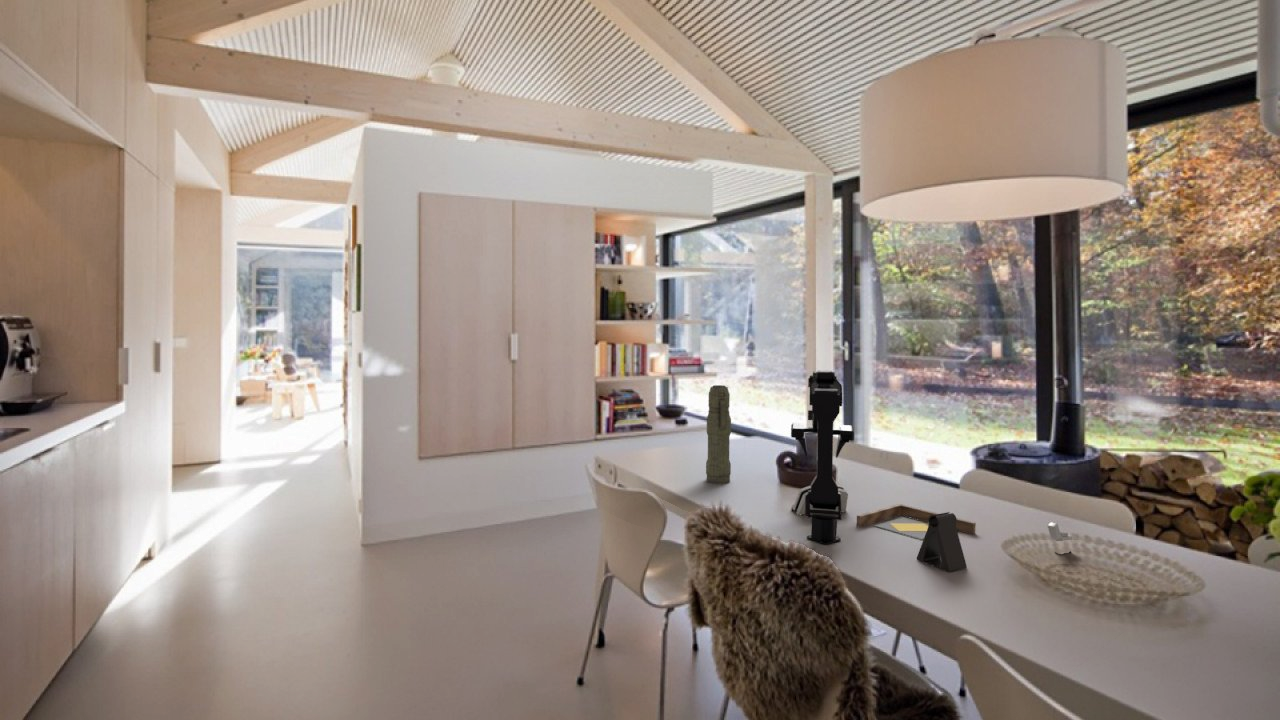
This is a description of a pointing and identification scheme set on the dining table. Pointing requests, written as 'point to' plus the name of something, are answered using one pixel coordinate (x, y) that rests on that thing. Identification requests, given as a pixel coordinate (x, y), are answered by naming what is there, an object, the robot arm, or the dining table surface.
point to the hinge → (800, 505)
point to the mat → (906, 527)
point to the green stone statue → (718, 435)
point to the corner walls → (909, 512)
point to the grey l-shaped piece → (1058, 533)
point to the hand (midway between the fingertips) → (821, 456)
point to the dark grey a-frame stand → (942, 544)
